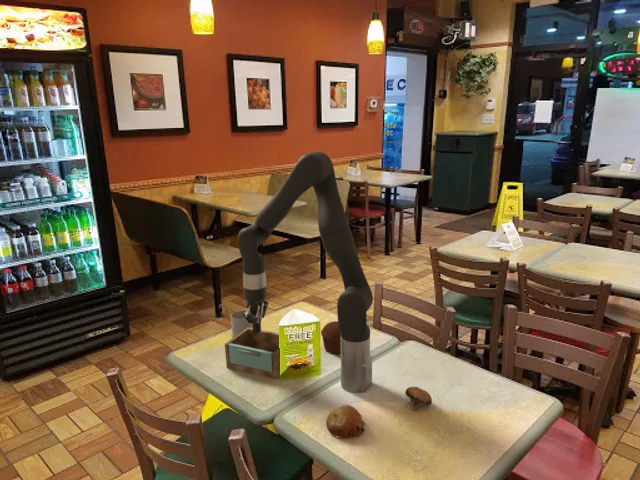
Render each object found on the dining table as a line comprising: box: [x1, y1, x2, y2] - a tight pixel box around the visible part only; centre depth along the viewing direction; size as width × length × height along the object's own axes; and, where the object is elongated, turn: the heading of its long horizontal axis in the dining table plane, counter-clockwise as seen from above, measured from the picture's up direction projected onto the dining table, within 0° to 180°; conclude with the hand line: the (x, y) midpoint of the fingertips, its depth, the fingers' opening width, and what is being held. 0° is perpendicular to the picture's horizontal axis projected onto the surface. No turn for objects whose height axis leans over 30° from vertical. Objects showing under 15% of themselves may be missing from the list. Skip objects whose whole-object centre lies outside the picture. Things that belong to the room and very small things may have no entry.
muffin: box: [320, 320, 341, 355], centre depth 174 cm, size 12×11×10 cm
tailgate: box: [229, 343, 273, 372], centre depth 158 cm, size 17×2×7 cm, turn 65°
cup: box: [230, 309, 253, 339], centre depth 184 cm, size 8×8×10 cm
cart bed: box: [224, 327, 281, 380], centre depth 165 cm, size 20×14×9 cm
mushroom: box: [404, 386, 433, 411], centre depth 140 cm, size 8×8×6 cm
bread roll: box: [326, 404, 366, 439], centre depth 131 cm, size 10×10×8 cm
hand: (257, 332), depth 161 cm, fingers closed
